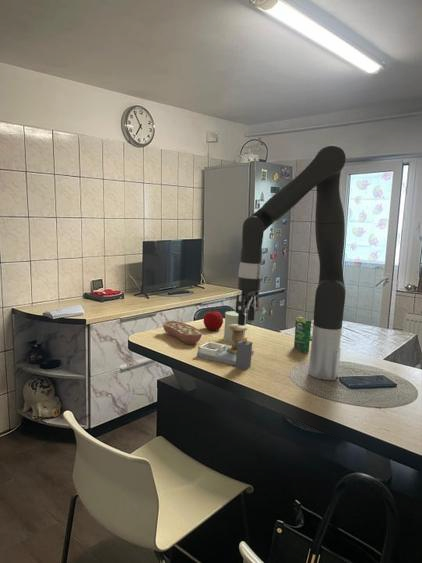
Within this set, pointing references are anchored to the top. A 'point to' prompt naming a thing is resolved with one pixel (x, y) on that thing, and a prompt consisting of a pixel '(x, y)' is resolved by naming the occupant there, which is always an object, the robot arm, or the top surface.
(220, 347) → the board
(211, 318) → the apple
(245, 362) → the gray rectangular block
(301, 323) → the coffee box
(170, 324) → the bread loaf
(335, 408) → the top surface
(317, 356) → the robot arm
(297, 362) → the top surface
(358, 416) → the top surface
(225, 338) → the can
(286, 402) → the top surface
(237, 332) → the bobbin
